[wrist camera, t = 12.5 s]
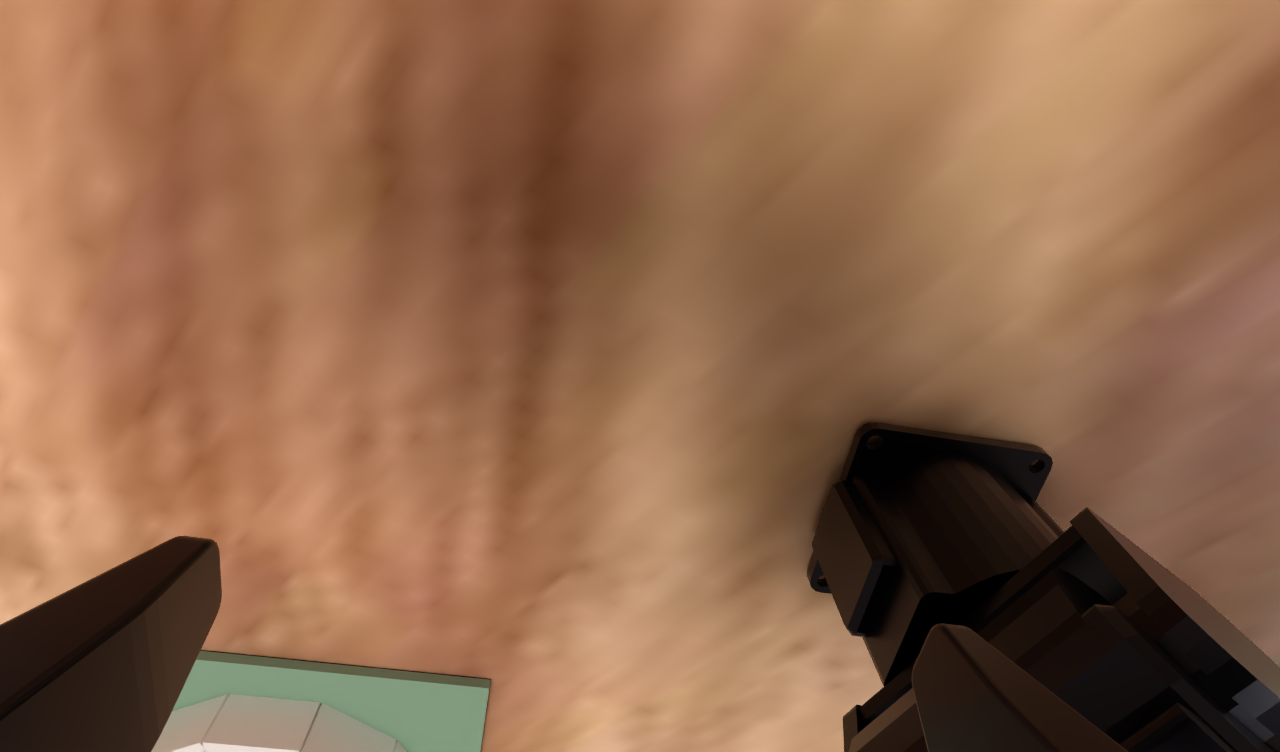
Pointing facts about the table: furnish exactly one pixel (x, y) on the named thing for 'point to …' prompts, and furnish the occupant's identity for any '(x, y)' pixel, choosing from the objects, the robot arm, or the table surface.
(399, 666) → the table surface
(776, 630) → the table surface
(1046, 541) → the robot arm
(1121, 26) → the table surface
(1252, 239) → the table surface
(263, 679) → the green square ring tray
